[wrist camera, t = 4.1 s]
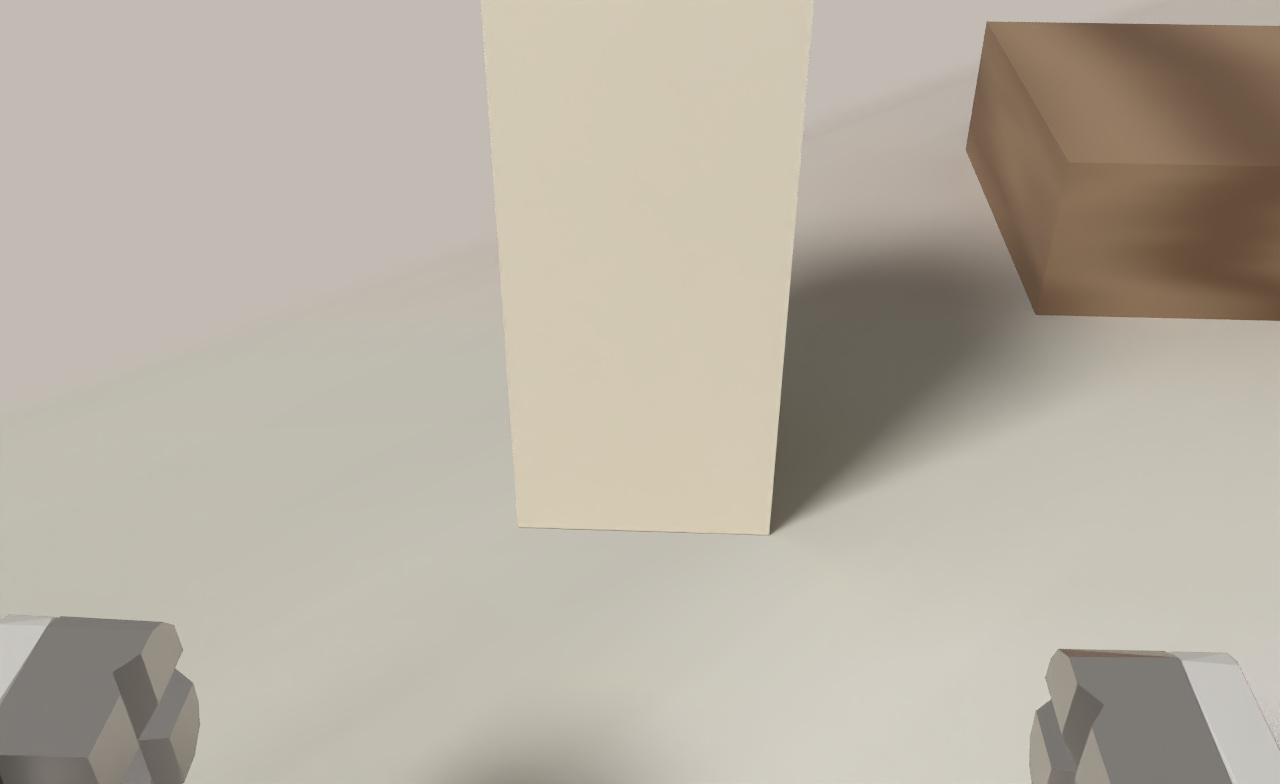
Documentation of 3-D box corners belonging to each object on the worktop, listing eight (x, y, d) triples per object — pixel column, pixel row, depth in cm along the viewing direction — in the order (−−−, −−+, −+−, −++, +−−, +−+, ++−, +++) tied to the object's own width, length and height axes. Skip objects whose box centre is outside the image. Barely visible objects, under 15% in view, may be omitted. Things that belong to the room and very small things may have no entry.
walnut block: (1284, 166, 35) (1329, 26, 32) (1440, 336, 27) (1513, 171, 25) (963, 160, 35) (986, 22, 33) (1033, 326, 28) (1069, 162, 25)
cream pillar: (760, 391, 25) (797, -131, 19) (768, 535, 21) (818, -54, 16) (544, 385, 25) (518, -135, 19) (517, 526, 22) (476, -59, 16)
